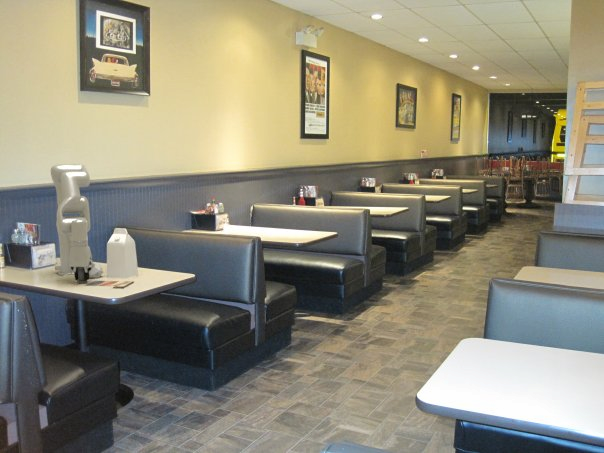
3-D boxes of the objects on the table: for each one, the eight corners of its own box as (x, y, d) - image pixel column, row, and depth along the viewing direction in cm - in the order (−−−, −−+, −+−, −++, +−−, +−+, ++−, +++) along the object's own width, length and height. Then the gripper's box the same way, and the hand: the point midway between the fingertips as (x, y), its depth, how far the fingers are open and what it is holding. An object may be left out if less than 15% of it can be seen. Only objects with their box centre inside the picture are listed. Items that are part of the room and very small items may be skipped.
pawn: (75, 283, 300) (74, 264, 299) (80, 281, 305) (79, 262, 304) (84, 284, 300) (83, 264, 298) (89, 282, 304) (88, 262, 303)
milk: (138, 275, 324) (136, 227, 321) (126, 279, 313) (124, 230, 310) (118, 274, 328) (116, 227, 324) (106, 278, 317) (104, 229, 313)
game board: (69, 287, 297) (69, 285, 296) (82, 281, 309) (82, 280, 309) (123, 288, 293) (123, 286, 293) (133, 282, 306) (133, 281, 306)
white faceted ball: (92, 282, 310) (103, 266, 312) (79, 273, 311) (90, 258, 313) (98, 284, 318) (108, 269, 320) (84, 276, 319) (95, 261, 321)
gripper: (60, 245, 297) (62, 281, 300) (92, 245, 295) (94, 281, 297) (68, 242, 305) (70, 277, 307) (99, 243, 302) (101, 278, 305)
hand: (82, 279), depth 302 cm, fingers open, 4 cm apart
